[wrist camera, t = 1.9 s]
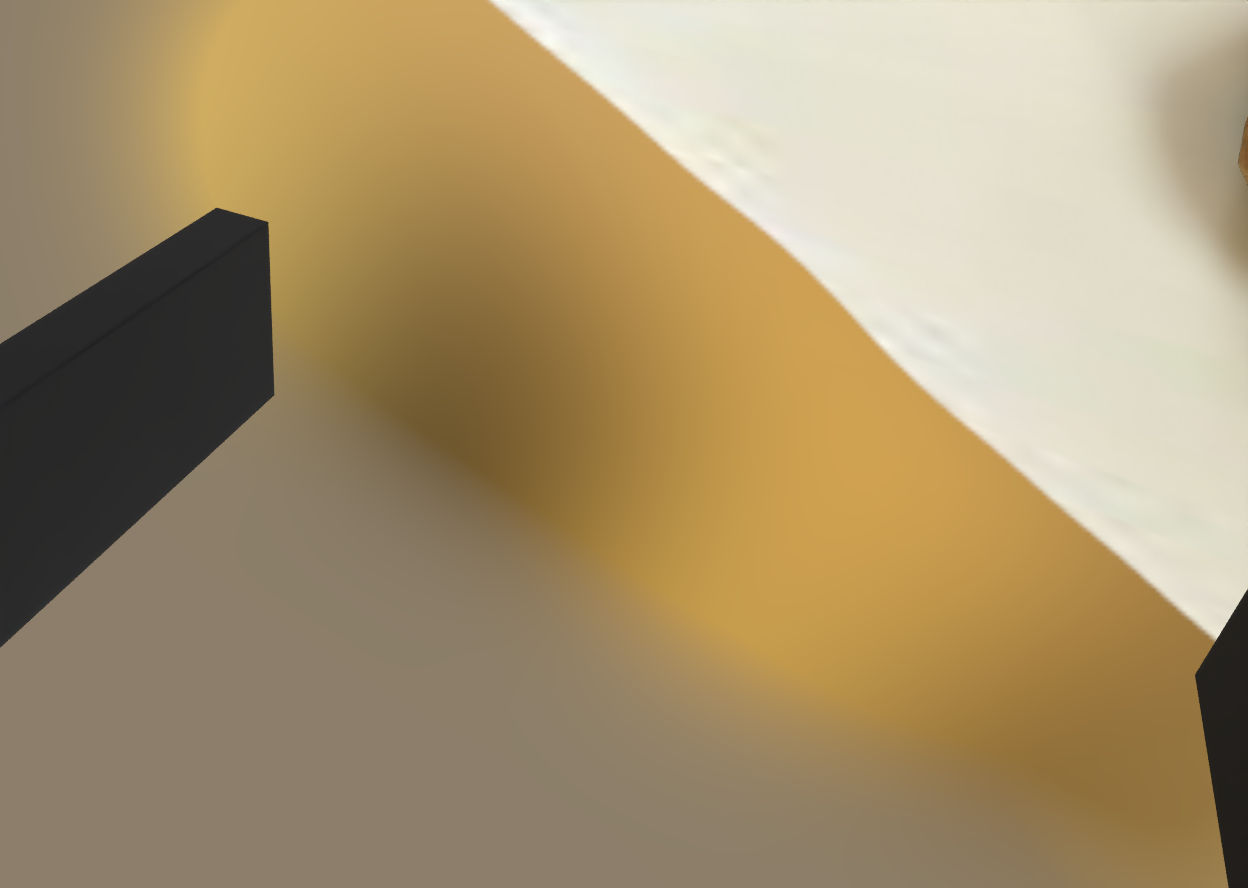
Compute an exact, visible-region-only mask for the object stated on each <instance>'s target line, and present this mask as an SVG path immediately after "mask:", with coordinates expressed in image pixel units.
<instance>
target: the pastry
mask: <svg viewBox="0 0 1248 888" xmlns="http://www.w3.org/2000/svg"><path fill="white" fill-rule="evenodd" d="M1238 165H1239V168H1240V170H1241V172H1242V174H1243V175H1244V177H1245V180H1246V182H1247V184H1248V117H1247V120H1246V123H1245V127H1244V133H1243V139H1242V146H1241V150H1240V154H1239V160H1238Z"/></svg>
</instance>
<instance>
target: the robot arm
mask: <svg viewBox="0 0 1248 888" xmlns="http://www.w3.org/2000/svg"><path fill="white" fill-rule="evenodd" d="M268 229H269V228H268V222H266V221H263V220H259V219H255V218H252V217H248V216H245V215H241V214H237V213H233V212H230V211H227V210H223V209H219V208H215V209H214V210H212V211H211V212H209V213H207V214H206V215H204V216H203V217H201V218H200V219H198V220H196V221H195V222H193V223H192V224H190V225H188V226H187V227H185V228H184V229H182V230H180V231H179V232H178V233H176V234H174V235H173V236H171V237H169V238H168V239H166V240H165V241H163V242H161V243H160V244H158V245H157V246H155V247H154V248H152V249H150V250H149V251H147V252H146V253H144V254H142V255H141V256H139V257H138V258H136V259H134V260H133V261H131V262H130V263H128V264H127V265H125V266H123V267H122V268H120V269H119V270H117V271H115V272H114V273H112V274H111V275H109V276H108V277H106V278H104V279H103V280H101V281H99V282H98V283H96V284H95V285H93V286H92V287H90V288H88V289H87V290H85V291H84V292H82V293H80V294H79V295H77V296H76V297H74V298H72V299H71V300H69V301H68V302H66V303H64V304H63V305H61V306H60V307H58V308H57V309H55V310H53V311H52V312H51V313H49V314H47V315H45V316H44V317H42V318H41V319H39V320H37V321H36V322H35V323H33V324H31V325H30V326H28V327H26V328H25V329H23V330H22V331H20V332H18V333H17V334H15V335H14V336H12V337H11V338H9V339H7V340H6V341H4V342H3V343H1V344H0V647H1V646H3V644H5V643H6V642H7V641H8V640H9V639H10V638H11V637H12V636H13V635H14V634H16V632H17V631H19V630H20V629H21V628H22V627H23V626H24V625H25V624H26V623H27V622H29V621H30V620H31V619H32V618H33V617H34V616H35V615H36V614H37V613H38V612H39V611H40V610H41V609H43V608H44V607H45V606H46V605H47V604H48V603H49V602H50V601H51V600H52V599H54V598H55V597H56V596H57V595H58V594H59V593H60V592H61V591H62V590H63V589H64V588H65V587H66V586H68V585H69V584H70V583H71V582H72V581H73V580H74V579H75V578H76V577H77V576H78V575H80V574H81V573H82V572H83V571H84V570H85V569H86V568H87V567H88V566H89V565H90V564H91V563H93V561H95V560H96V559H97V558H98V557H99V556H100V555H101V554H102V553H103V552H104V551H105V550H107V549H108V548H109V547H110V546H111V545H112V544H113V543H114V542H115V541H116V540H118V539H119V538H120V537H121V536H122V535H123V534H124V533H125V532H126V531H127V530H128V529H129V528H131V527H132V526H133V525H134V524H135V523H136V522H137V521H138V520H139V519H140V518H141V517H142V516H144V515H145V514H146V513H147V512H148V511H149V510H150V509H151V508H152V507H153V506H154V505H156V504H157V502H159V501H160V500H161V499H162V498H163V497H164V496H165V495H166V494H167V493H169V491H171V490H172V489H173V488H174V487H175V486H176V485H177V484H178V483H179V482H180V481H182V480H183V479H184V478H185V477H186V476H187V475H188V474H189V473H190V472H191V471H192V470H194V468H195V467H197V466H198V465H199V464H200V463H201V462H202V461H203V460H204V459H205V458H207V457H208V456H209V455H210V454H211V453H212V452H213V451H214V450H215V449H216V448H217V447H218V446H219V445H221V444H222V443H223V442H224V441H225V440H226V439H227V438H228V437H229V436H230V435H231V434H233V433H234V432H235V431H236V430H237V429H238V428H239V427H240V426H241V425H242V424H243V423H245V422H246V421H247V420H248V419H249V418H250V417H251V416H252V415H253V414H254V413H255V412H256V411H258V410H259V409H260V408H261V407H262V406H263V405H264V404H265V403H266V402H267V401H268V400H269V399H271V398H272V397H273V396H274V374H273V346H272V317H271V286H270V257H269V230H268ZM1195 678H1196V684H1197V690H1198V697H1199V703H1200V709H1201V715H1202V722H1203V728H1204V735H1205V741H1206V747H1207V753H1208V760H1209V766H1210V772H1211V778H1212V785H1213V792H1214V798H1215V804H1216V810H1217V817H1218V823H1219V829H1220V836H1221V842H1222V848H1223V855H1224V861H1225V867H1226V874H1227V879H1228V886H1229V888H1248V589H1247V591H1246V593H1245V594H1244V596H1243V597H1242V599H1241V601H1240V602H1239V604H1238V606H1237V607H1236V609H1235V611H1234V612H1233V614H1232V615H1231V617H1230V619H1229V620H1228V622H1227V624H1226V625H1225V627H1224V628H1223V630H1222V632H1221V633H1220V635H1219V637H1218V638H1217V640H1216V642H1215V643H1214V645H1213V646H1212V648H1211V650H1210V651H1209V653H1208V655H1207V656H1206V658H1205V659H1204V661H1203V663H1202V664H1201V666H1200V668H1199V669H1198V671H1197V673H1196V674H1195Z"/></svg>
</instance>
